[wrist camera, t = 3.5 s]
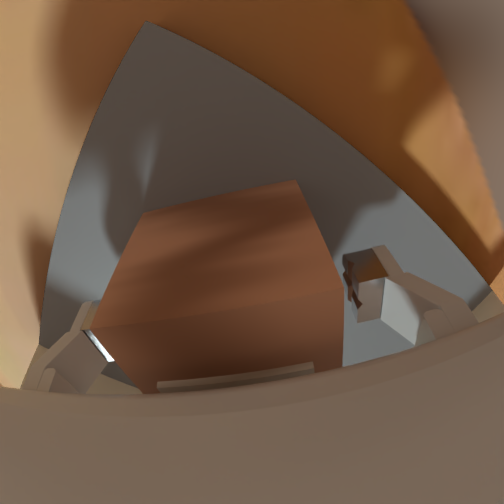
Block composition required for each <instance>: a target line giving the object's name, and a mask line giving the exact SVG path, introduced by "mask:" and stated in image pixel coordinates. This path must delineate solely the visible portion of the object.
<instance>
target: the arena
mask: <svg viewBox="0 0 504 504" xmlns="http://www.w3.org/2000/svg"><path fill="white" fill-rule="evenodd" d="M295 179H296V181H297V183H298V185H299V188H300V190H301V192H302V194H303V196H304V198H305V200H306V202H307V204H308V206H309V209H310V211H311V213H312V215H313V217H314V219H315V221H316V224H317V226H318V228H319V230H320V232H321V235H322V237H323V239H324V241H325V244H326V246H327V248H328V250H329V253H330V255H331V257H332V260H333V262H334V264H335V267H336V269H337V271H338V274H339V276H340V278H341V281H342V283H343V273H344V271H345V269H344V267H343V265H342V256H343V254H346V253H351V252H355V251H360V250H365V249H369V248H371V247H376V246H380V245H385V246H386V247H387V249H388V250H389V251H390V253H391V254H392V256H393V257H394V259H395V260H396V262H397V263H398V265H399V266H400V268H401V269H402V271H403V272H404V273H405V272H409V273H411V274H413V275H415V276H417V277H419V278H422V279H424V280H426V281H428V282H430V283H432V284H434V285H436V286H438V287H440V288H442V289H444V290H446V291H448V292H450V293H452V294H454V295H456V296H458V297H460V298H462V299H463V300H464V301H465V303H466V304H467V305H468V307H469V308H470V310H471V311H472V313H473V314H474V316H475V317H476V319H477V321H478V322H479V323H480V322H483V321H485V320H487V319H490V318H492V317H494V316H496V315H499V314H501V313H503V312H504V305H503V304H502V302H501V301H500V300H499V298H498V297H497V296H496V294H495V293H494V292H493V290H492V289H491V288H490V286H489V285H488V284H487V282H486V281H485V280H484V279H483V277H482V276H481V275H480V274H479V272H478V271H477V270H476V269H475V267H474V266H473V265H472V264H471V263H470V261H469V260H468V259H467V258H466V257H465V255H464V254H463V253H462V252H461V251H460V250H459V249H458V247H457V246H456V245H455V244H454V243H453V242H452V241H451V240H450V238H449V237H448V236H447V235H446V234H445V233H444V232H443V231H442V230H441V229H440V228H439V226H438V225H437V224H436V223H435V222H434V221H433V220H432V219H431V218H430V217H429V216H428V215H427V214H426V213H425V212H424V211H423V210H422V209H421V208H420V207H419V206H418V205H417V204H416V203H415V202H414V201H413V200H412V199H411V198H410V197H409V196H408V195H407V194H406V193H405V192H404V191H403V190H402V189H401V188H400V187H398V186H397V185H396V184H395V183H394V182H393V181H392V180H391V179H390V178H389V177H388V176H386V175H385V174H384V173H383V172H382V171H381V170H380V169H379V168H377V167H376V166H375V165H374V164H373V163H372V162H371V161H369V160H368V159H367V158H366V157H365V156H364V155H362V154H361V153H360V152H359V151H358V150H356V149H355V148H354V147H353V146H351V145H350V144H349V143H348V142H346V141H345V140H344V139H343V138H341V137H340V136H339V135H338V134H336V133H335V132H334V131H333V130H331V129H330V128H329V127H327V126H326V125H325V124H323V123H322V122H321V121H319V120H318V119H317V118H315V117H314V116H313V115H311V114H310V113H308V112H307V111H306V110H304V109H303V108H301V107H300V106H299V105H297V104H296V103H294V102H293V101H291V100H290V99H288V98H287V97H285V96H284V95H282V94H281V93H279V92H278V91H276V90H275V89H273V88H272V87H270V86H269V85H267V84H266V83H264V82H262V81H261V80H259V79H258V78H256V77H254V76H253V75H251V74H249V73H248V72H246V71H244V70H243V69H241V68H239V67H238V66H236V65H234V64H232V63H231V62H229V61H227V60H225V59H224V58H222V57H220V56H218V55H216V54H215V53H213V52H211V51H209V50H207V49H205V48H203V47H201V46H199V45H197V44H196V43H194V42H192V41H190V40H188V39H185V38H183V37H181V36H179V35H177V34H175V33H173V32H171V31H169V30H166V29H164V28H162V27H160V26H158V25H155V24H153V23H151V22H148V21H145V23H144V24H143V26H142V27H141V29H140V31H139V32H138V34H137V36H136V37H135V39H134V40H133V42H132V44H131V46H130V47H129V49H128V51H127V53H126V54H125V56H124V58H123V60H122V62H121V63H120V65H119V67H118V69H117V71H116V73H115V75H114V77H113V79H112V81H111V83H110V85H109V87H108V89H107V91H106V93H105V95H104V97H103V99H102V101H101V103H100V106H99V108H98V110H97V112H96V115H95V117H94V119H93V122H92V124H91V126H90V129H89V131H88V134H87V136H86V139H85V141H84V144H83V146H82V149H81V152H80V155H79V157H78V160H77V163H76V166H75V169H74V172H73V175H72V178H71V181H70V184H69V187H68V190H67V194H66V197H65V200H64V204H63V208H62V211H61V215H60V219H59V223H58V227H57V231H56V235H55V239H54V244H53V248H52V253H51V258H50V263H49V268H48V274H47V280H46V286H45V292H44V299H43V307H42V315H41V325H40V336H39V345H38V347H37V349H36V352H35V354H34V356H33V358H32V361H31V363H30V365H29V368H28V370H27V373H26V375H25V377H24V380H23V382H22V385H21V388H20V389H22V387H23V385H24V382H25V380H26V377H27V375H28V372H29V370H30V367H31V366H32V365H33V364H34V363H35V362H36V361H37V360H38V359H39V358H40V357H41V356H42V355H43V354H44V353H45V352H46V351H47V350H48V349H50V348H51V347H52V346H53V345H54V344H55V343H56V342H57V341H58V340H59V339H60V338H61V337H62V336H63V335H64V334H65V333H66V332H70V330H71V327H72V325H73V323H74V321H75V318H76V316H77V314H78V312H79V310H80V308H81V305H82V304H83V303H84V302H87V301H95V300H100V299H102V297H103V295H104V292H105V290H106V288H107V286H108V283H109V281H110V279H111V277H112V275H113V272H114V270H115V268H116V266H117V264H118V262H119V260H120V257H121V255H122V253H123V251H124V249H125V247H126V245H127V243H128V241H129V239H130V237H131V235H132V233H133V231H134V229H135V227H136V225H137V224H138V222H139V220H140V218H141V216H142V214H143V213H145V212H149V211H153V210H157V209H161V208H165V207H169V206H173V205H177V204H181V203H186V202H190V201H194V200H198V199H203V198H207V197H211V196H216V195H221V194H225V193H230V192H234V191H239V190H244V189H249V188H254V187H259V186H264V185H269V184H274V183H279V182H285V181H290V180H295ZM351 307H352V302H350V301H348V299H347V297H346V294H345V291H344V340H343V363H342V367H344V366H348V365H353V364H356V363H360V362H364V361H368V360H372V359H375V358H379V357H382V356H386V355H389V354H393V353H396V352H399V351H403V350H406V349H409V348H412V347H414V346H415V345H414V344H413V343H411V342H410V341H409V340H407V339H406V338H405V337H403V336H402V335H401V334H399V333H398V332H397V331H395V330H394V329H393V328H391V327H390V326H389V325H387V324H386V323H385V322H383V321H382V320H381V318H379V319H375V320H370V321H366V322H361V323H357V322H356V319H355V317H354V314H353V312H352V310H351ZM86 394H143V393H142V392H141V391H140V390H139V389H138V387H137V386H136V385H135V384H134V383H133V382H132V381H131V380H130V378H129V377H128V376H127V375H126V374H125V373H124V372H123V370H122V369H121V368H120V367H119V366H118V364H117V363H116V362H115V361H109V362H108V364H107V365H106V366H105V368H104V369H103V370H102V372H101V373H100V374H99V376H98V377H97V379H96V380H95V381H94V383H93V384H92V385H91V387H90V388H89V389H88V391H87V392H86Z"/></svg>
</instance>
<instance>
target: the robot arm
mask: <svg viewBox="0 0 504 504" xmlns="http://www.w3.org/2000/svg"><path fill="white" fill-rule="evenodd" d="M342 265H343V267H344V269H345V271H344V273H343V286H344V291H345V294H346V297H347V299H348V301H350V302H352V307H351V310H352V312H353V314H354V317H355V319H356V322H357V323H361V322H366V321H370V320H375V319H379V318H381V320H382V321H383V322H385V323H386V324H387V325H389V326H390V327H391V328H393V329H394V330H395V331H397V332H398V333H399V334H401V335H402V336H403V337H405V338H406V339H407V340H409V341H410V342H411V343H413V344H414V345H415V346H414V347H412V348H409V349H406V350H403V351H399V352H396V353H393V354H389V355H386V356H382V357H379V358H375V359H372V360H368V361H364V362H360V363H356V364H353V365H348V366H344V367H340V368H336V369H332V370H327V371H323V372H318V373H313V374H308V375H303V376H298V377H293V378H287V379H282V380H276V381H270V382H264V383H257V384H250V385H243V386H236V387H228V388H219V389H209V390H199V391H187V392H173V393H154V394H86V392H87V391H88V389H89V388H90V387H91V385H92V384H93V383H94V381H95V380H96V379H97V377H98V376H99V374H100V373H101V372H102V370H103V369H104V368H105V366H106V365H107V364H108V362H109V361H114V360H113V358H112V357H111V356H110V355H109V353H108V352H107V351H106V350H105V348H104V347H103V346H102V345H101V343H100V342H99V341H98V340H97V338H96V337H95V336H94V334H93V333H92V332H91V330H90V329H89V328H90V326H91V323H92V321H93V318H94V316H95V314H96V311H97V309H98V306H99V304H100V302H101V299H100V300H95V301H87V302H84V303H83V304H82V305H81V308H80V310H79V312H78V314H77V316H76V318H75V321H74V323H73V325H72V327H71V330H70V332H66V333H65V334H64V335H63V336H62V337H61V338H60V339H59V340H58V341H57V342H56V343H55V344H54V345H53V346H52V347H51V348H50V349H48V350H47V351H46V352H45V353H44V354H43V355H42V356H41V357H40V358H39V359H38V360H37V361H36V362H35V363H34V364H33V365H32V366H31V367H30V370H29V372H28V375H27V377H26V380H25V382H24V385H23V387H22V389H16V388H8V387H1V386H0V504H504V312H503V313H501V314H499V315H496V316H494V317H492V318H490V319H487V320H485V321H483V322H480V323H479V322H478V321H477V319H476V317H475V316H474V314H473V313H472V311H471V310H470V308H469V307H468V305H467V304H466V303H465V301H464V300H463V299H462V298H460V297H458V296H456V295H454V294H452V293H450V292H448V291H446V290H444V289H442V288H440V287H438V286H436V285H434V284H432V283H430V282H428V281H426V280H424V279H422V278H419V277H417V276H415V275H413V274H411V273H409V272H405V273H404V272H403V271H402V269H401V268H400V266H399V265H398V263H397V262H396V260H395V259H394V257H393V256H392V254H391V253H390V251H389V250H388V249H387V247H386V246H385V245H380V246H376V247H371V248H369V249H365V250H360V251H355V252H351V253H346V254H343V256H342Z"/></svg>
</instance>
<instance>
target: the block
mask: <svg viewBox="0 0 504 504" xmlns="http://www.w3.org/2000/svg"><path fill="white" fill-rule="evenodd" d="M89 329H90V330H91V332H92V333H93V334H94V336H95V337H96V338H97V340H98V341H99V342H100V343H101V345H102V346H103V347H104V348H105V350H106V351H107V352H108V353H109V355H110V356H111V357H112V358H113V360H114V361H115V362H116V363H117V364H118V366H119V367H120V368H121V369H122V370H123V372H124V373H125V374H126V375H127V376H128V377H129V378H130V380H131V381H132V382H133V383H134V384H135V385H136V386H137V387H138V389H139V390H140V391H141V392H142V393H143V394H154V393H173V392H187V391H199V390H209V389H219V388H228V387H236V386H243V385H250V384H257V383H264V382H270V381H276V380H282V379H287V378H293V377H298V376H303V375H308V374H313V373H318V372H323V371H327V370H332V369H336V368H340V367H342V363H343V340H344V286H343V283H342V281H341V278H340V276H339V274H338V271H337V269H336V267H335V264H334V262H333V260H332V257H331V255H330V253H329V250H328V248H327V246H326V244H325V241H324V239H323V237H322V235H321V232H320V230H319V228H318V226H317V224H316V221H315V219H314V217H313V215H312V213H311V211H310V209H309V206H308V204H307V202H306V200H305V198H304V196H303V194H302V192H301V190H300V188H299V185H298V183H297V181H296V179H295V180H290V181H285V182H279V183H274V184H269V185H264V186H259V187H254V188H249V189H244V190H239V191H234V192H230V193H225V194H221V195H216V196H211V197H207V198H203V199H198V200H194V201H190V202H186V203H181V204H177V205H173V206H169V207H165V208H161V209H157V210H153V211H149V212H145V213H143V214H142V216H141V218H140V220H139V222H138V224H137V225H136V227H135V229H134V231H133V233H132V235H131V237H130V239H129V241H128V243H127V245H126V247H125V249H124V251H123V253H122V255H121V257H120V260H119V262H118V264H117V266H116V268H115V270H114V272H113V275H112V277H111V279H110V281H109V283H108V286H107V288H106V290H105V292H104V295H103V297H102V299H101V302H100V304H99V306H98V309H97V311H96V314H95V316H94V318H93V321H92V323H91V326H90V328H89Z"/></svg>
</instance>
